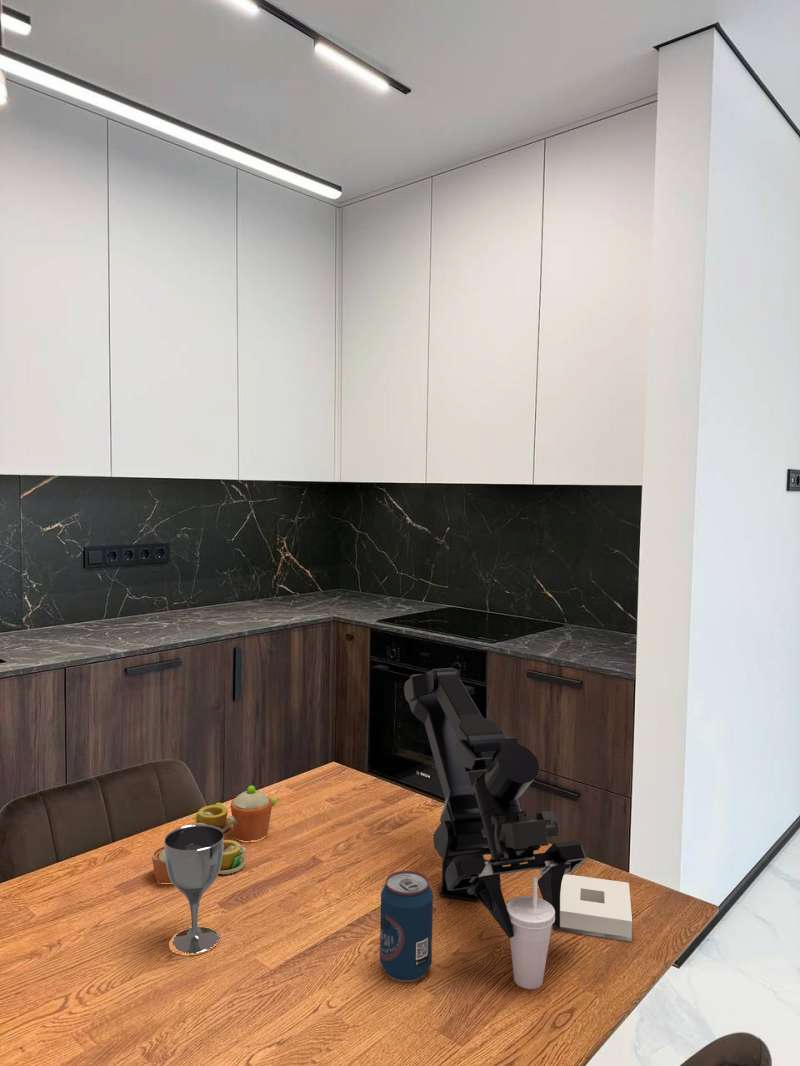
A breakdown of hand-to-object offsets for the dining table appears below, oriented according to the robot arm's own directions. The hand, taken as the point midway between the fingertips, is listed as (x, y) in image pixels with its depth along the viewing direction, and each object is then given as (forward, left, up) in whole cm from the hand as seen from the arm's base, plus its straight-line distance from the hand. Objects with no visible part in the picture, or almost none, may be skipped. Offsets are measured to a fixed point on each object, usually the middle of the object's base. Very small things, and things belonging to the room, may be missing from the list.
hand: (534, 933), depth 99 cm
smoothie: (-1, +1, -7) cm, 7 cm away
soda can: (-17, -1, -7) cm, 18 cm away
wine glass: (-47, -3, -7) cm, 47 cm away
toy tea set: (-56, +21, -8) cm, 61 cm away
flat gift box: (+7, +19, -7) cm, 22 cm away
